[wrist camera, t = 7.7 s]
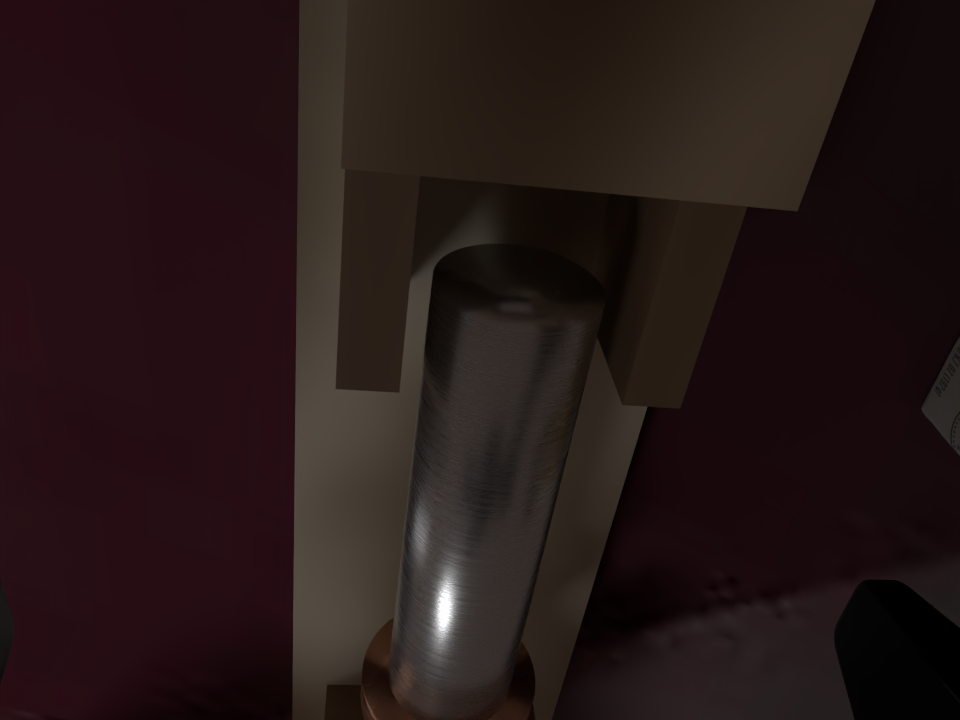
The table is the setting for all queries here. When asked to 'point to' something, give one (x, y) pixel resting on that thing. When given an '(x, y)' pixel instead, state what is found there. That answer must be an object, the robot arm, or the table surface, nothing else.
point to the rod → (483, 482)
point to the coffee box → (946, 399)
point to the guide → (527, 222)
